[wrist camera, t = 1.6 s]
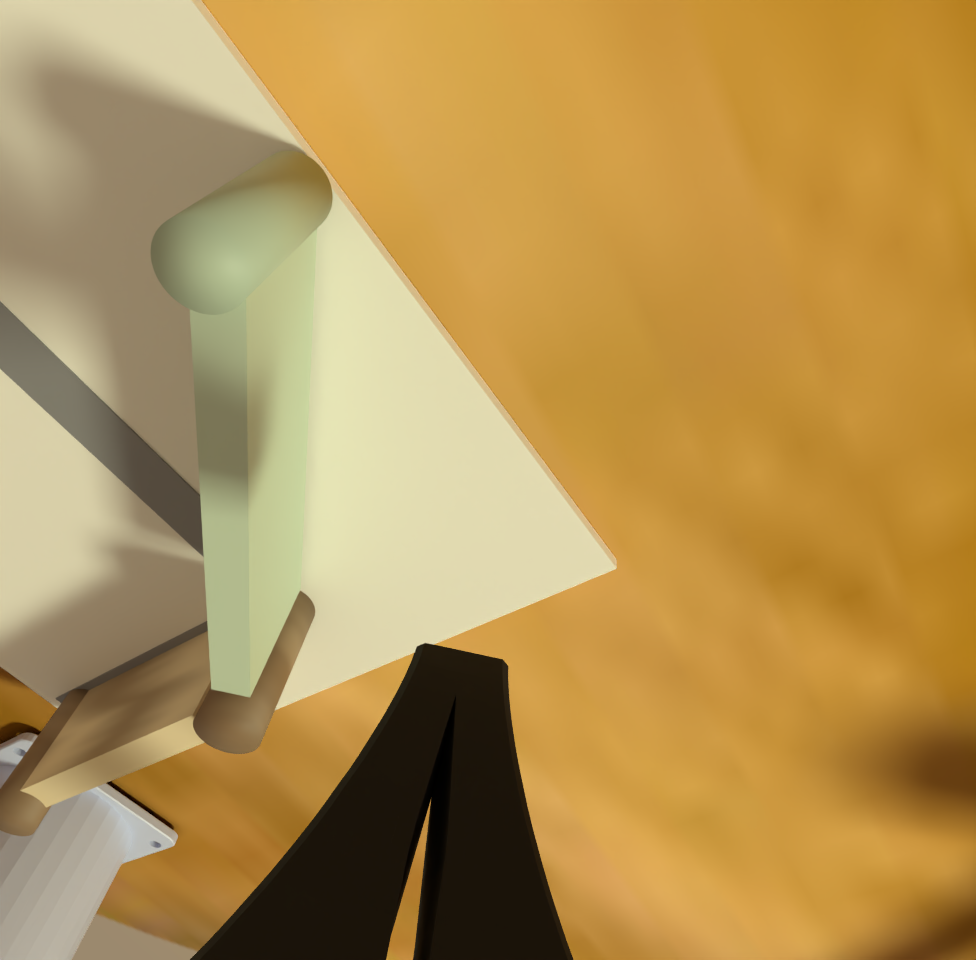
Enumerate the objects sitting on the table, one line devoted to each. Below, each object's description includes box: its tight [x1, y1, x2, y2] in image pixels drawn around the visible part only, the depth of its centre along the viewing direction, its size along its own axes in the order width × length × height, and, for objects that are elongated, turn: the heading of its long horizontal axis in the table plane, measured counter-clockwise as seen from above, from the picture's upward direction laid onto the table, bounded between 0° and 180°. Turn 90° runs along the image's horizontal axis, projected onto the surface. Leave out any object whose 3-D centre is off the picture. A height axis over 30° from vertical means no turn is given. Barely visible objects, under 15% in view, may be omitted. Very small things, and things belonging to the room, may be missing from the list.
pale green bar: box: [151, 151, 333, 697], centre depth 17 cm, size 12×2×5 cm, turn 170°
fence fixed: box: [0, 591, 315, 836], centre depth 23 cm, size 12×2×5 cm, turn 125°
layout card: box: [0, 0, 617, 710], centre depth 21 cm, size 21×20×1 cm
